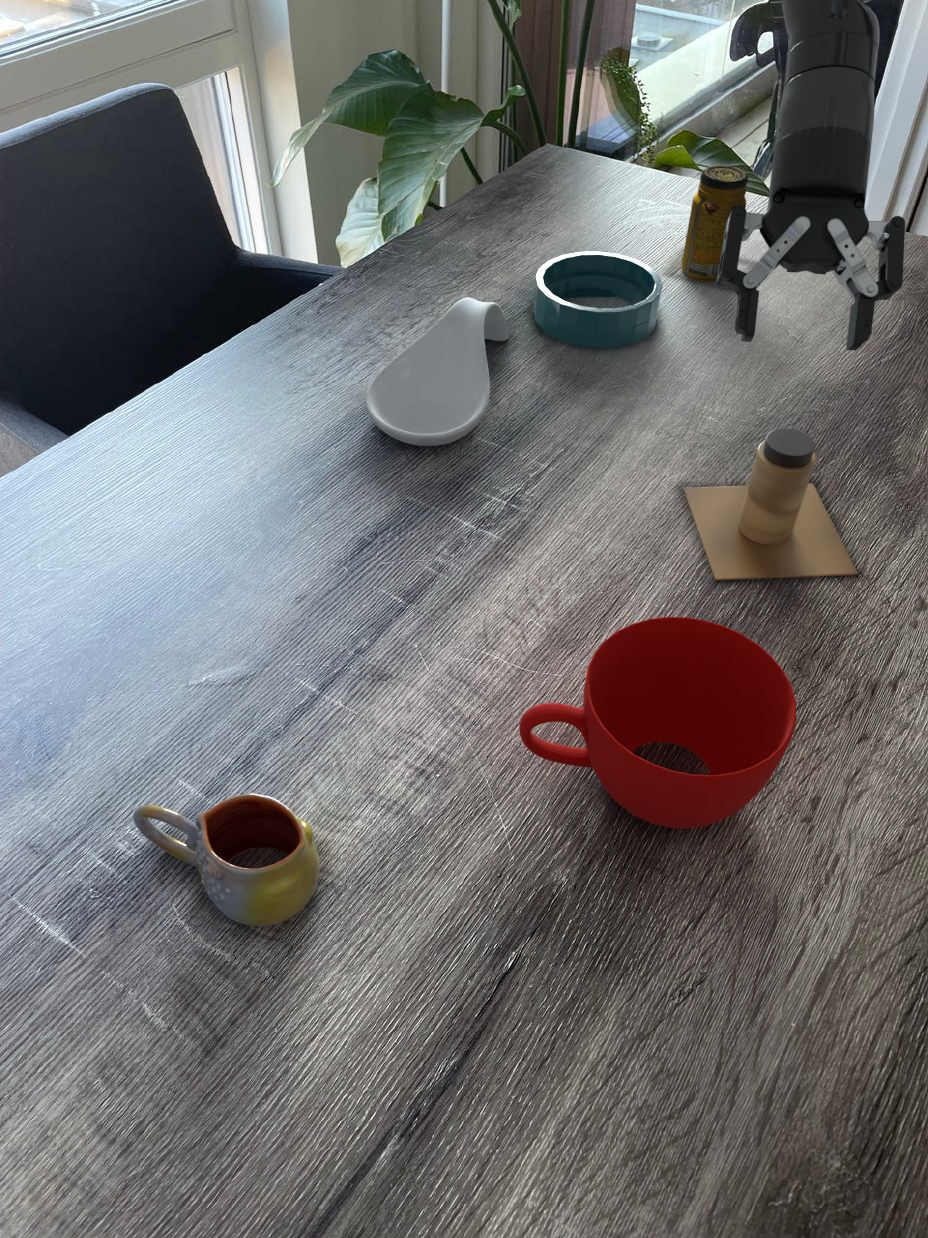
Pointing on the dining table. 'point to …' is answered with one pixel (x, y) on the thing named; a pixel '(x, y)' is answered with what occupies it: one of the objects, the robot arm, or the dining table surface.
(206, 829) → the mug
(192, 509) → the dining table surface
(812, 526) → the plate
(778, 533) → the pepper mill
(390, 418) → the spoon rest
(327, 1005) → the dining table surface
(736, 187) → the condiment
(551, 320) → the pot
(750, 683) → the ceramic cup
